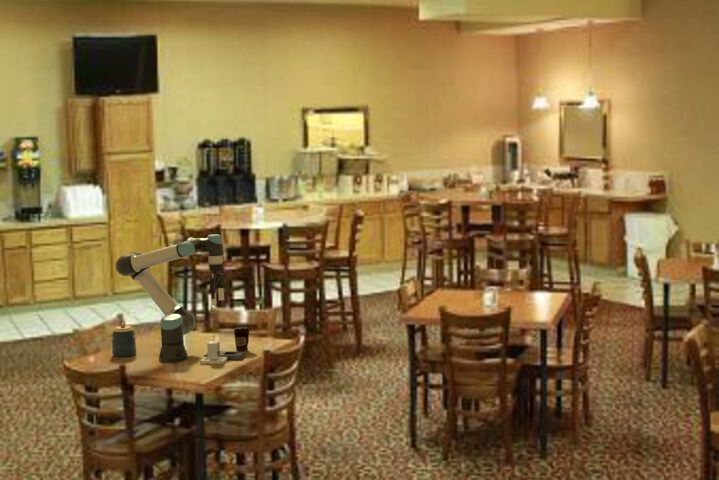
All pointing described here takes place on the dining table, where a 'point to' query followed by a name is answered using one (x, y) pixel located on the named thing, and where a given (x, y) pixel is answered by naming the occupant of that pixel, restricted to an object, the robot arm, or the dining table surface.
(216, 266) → the robot arm
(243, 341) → the coffee cup
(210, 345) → the nut block
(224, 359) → the parts tray
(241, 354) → the grey flat slab
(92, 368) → the dining table surface
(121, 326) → the canister
